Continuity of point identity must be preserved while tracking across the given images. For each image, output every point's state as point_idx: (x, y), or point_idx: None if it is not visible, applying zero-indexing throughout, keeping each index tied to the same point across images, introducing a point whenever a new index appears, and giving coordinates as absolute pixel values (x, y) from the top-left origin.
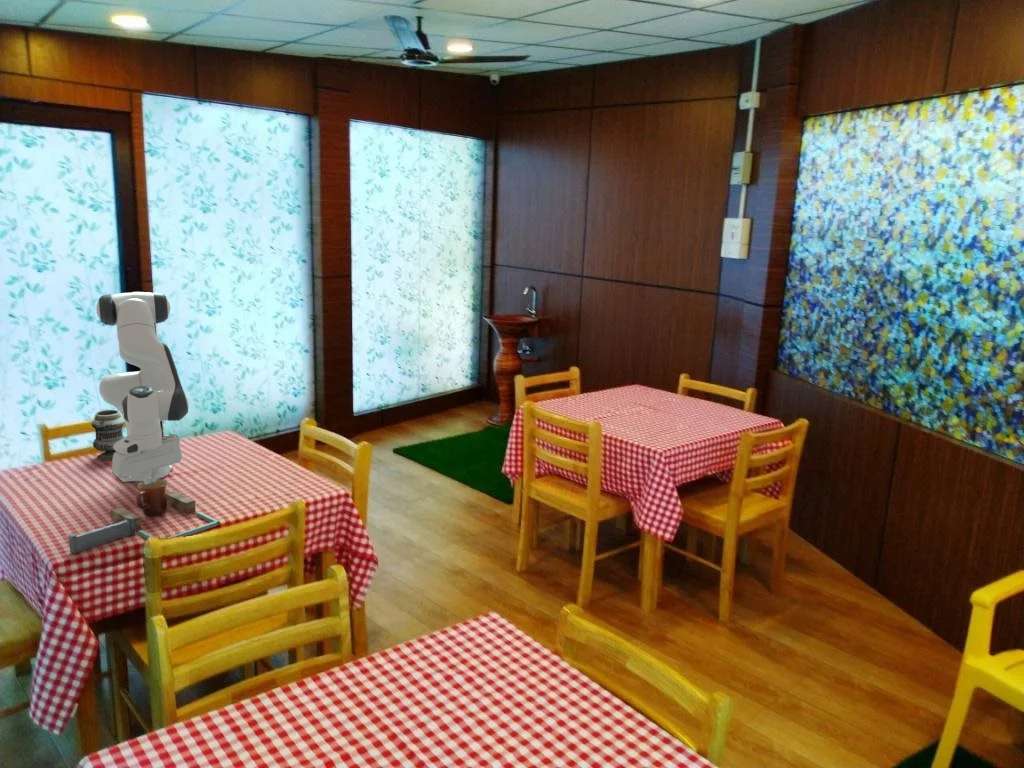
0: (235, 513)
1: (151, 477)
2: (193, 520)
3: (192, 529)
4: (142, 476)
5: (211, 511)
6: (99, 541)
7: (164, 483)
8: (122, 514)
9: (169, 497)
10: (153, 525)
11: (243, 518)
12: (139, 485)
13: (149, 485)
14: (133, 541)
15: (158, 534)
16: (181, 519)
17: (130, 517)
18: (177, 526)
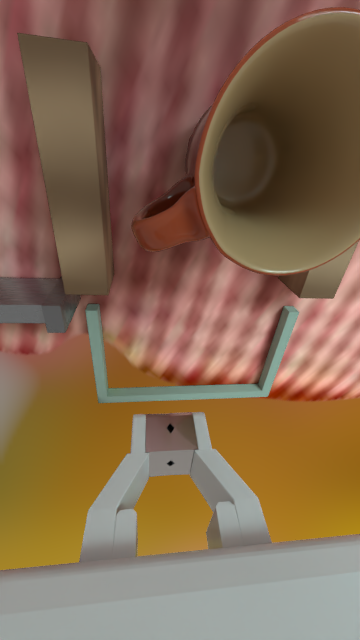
0: (337, 361)
1: (180, 466)
2: (253, 326)
3: (196, 395)
4: (111, 488)
5: (329, 308)
6: None
7: None
8: (57, 198)
9: None
10: (159, 272)
11: (315, 392)
12: (244, 79)
13: (329, 70)
14: (56, 335)
15: (133, 341)
16: (242, 296)
17: (54, 318)
18: (199, 331)
